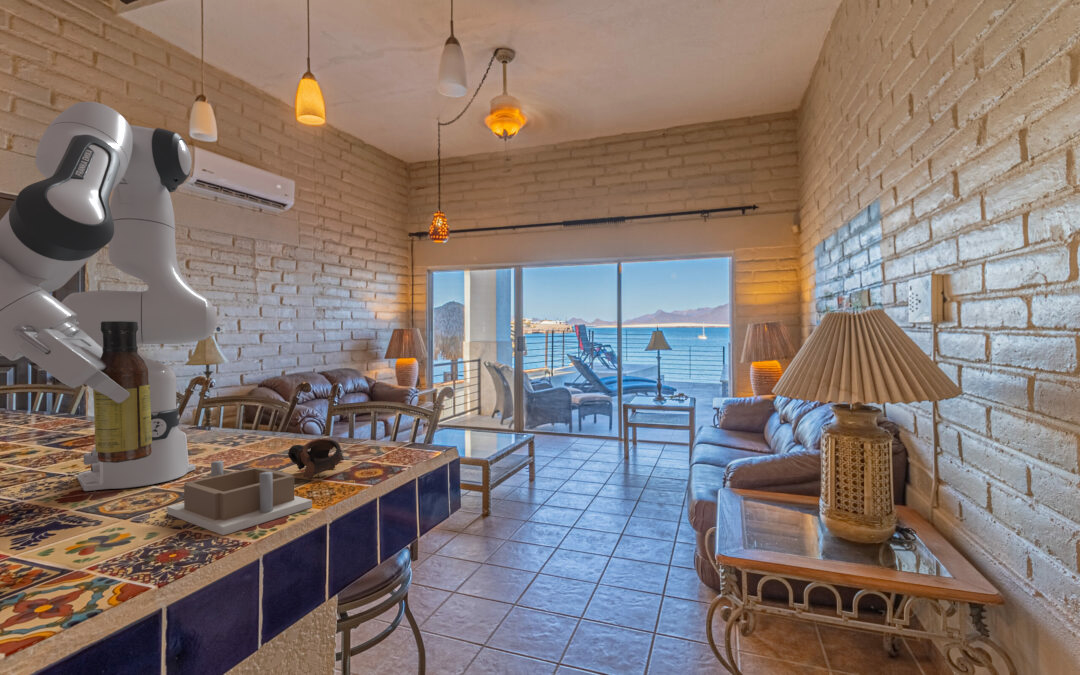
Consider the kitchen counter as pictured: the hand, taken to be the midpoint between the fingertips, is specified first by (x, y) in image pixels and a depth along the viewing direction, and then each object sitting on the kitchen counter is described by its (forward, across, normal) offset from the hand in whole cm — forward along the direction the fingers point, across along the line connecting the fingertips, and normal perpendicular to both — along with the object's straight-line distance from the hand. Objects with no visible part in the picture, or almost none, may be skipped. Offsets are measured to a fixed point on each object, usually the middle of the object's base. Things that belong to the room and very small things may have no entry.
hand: (129, 396), depth 71 cm
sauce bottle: (+6, 0, +7) cm, 9 cm away
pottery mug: (+35, +22, -6) cm, 42 cm away
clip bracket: (+24, +4, +4) cm, 25 cm away
